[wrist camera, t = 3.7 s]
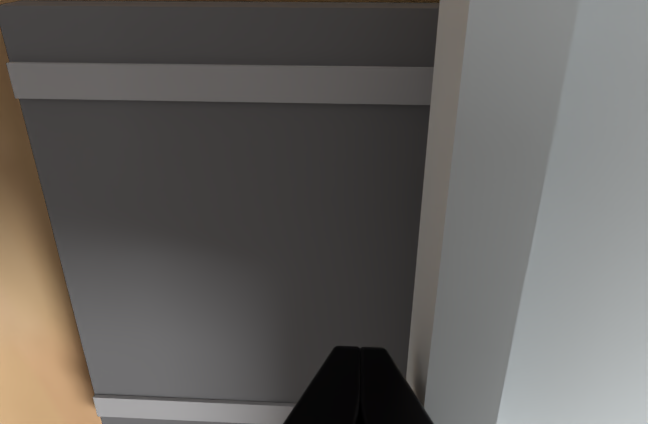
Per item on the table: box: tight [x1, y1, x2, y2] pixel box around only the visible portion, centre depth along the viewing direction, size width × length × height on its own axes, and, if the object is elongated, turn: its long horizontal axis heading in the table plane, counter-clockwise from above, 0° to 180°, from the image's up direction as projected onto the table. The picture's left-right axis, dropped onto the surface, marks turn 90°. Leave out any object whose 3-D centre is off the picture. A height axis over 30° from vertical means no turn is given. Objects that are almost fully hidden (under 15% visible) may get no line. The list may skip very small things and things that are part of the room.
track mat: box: [0, 0, 440, 424], centre depth 11 cm, size 22×10×1 cm, turn 90°
